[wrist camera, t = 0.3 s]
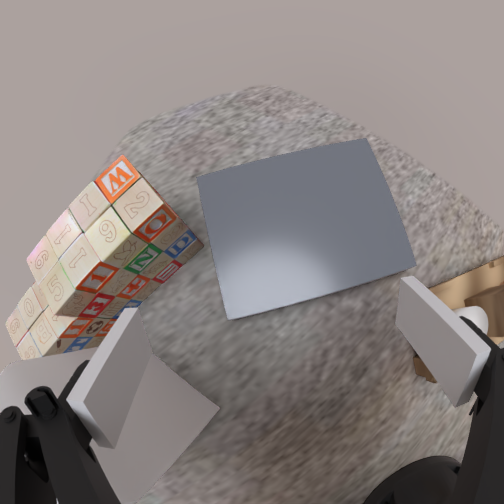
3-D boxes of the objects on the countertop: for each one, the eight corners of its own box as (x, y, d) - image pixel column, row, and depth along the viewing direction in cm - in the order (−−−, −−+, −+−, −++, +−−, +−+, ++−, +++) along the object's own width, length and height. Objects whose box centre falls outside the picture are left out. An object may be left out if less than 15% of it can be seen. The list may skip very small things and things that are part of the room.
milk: (136, 338, 30) (-101, 339, 4) (220, 407, 27) (70, 594, 2) (88, 408, 28) (-93, 460, 3) (161, 473, 26) (25, 607, 1)
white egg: (465, 337, 23) (491, 337, 19) (439, 350, 23) (463, 354, 19) (458, 304, 24) (483, 300, 20) (431, 316, 24) (455, 314, 20)
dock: (400, 272, 29) (416, 265, 25) (234, 320, 29) (227, 320, 25) (357, 156, 32) (366, 138, 28) (205, 193, 32) (196, 177, 29)
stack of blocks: (80, 366, 29) (6, 376, 17) (55, 325, 31) (-18, 320, 19) (205, 245, 31) (164, 201, 19) (171, 206, 33) (122, 151, 21)
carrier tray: (496, 257, 28) (565, 229, 15) (510, 324, 26) (582, 318, 13) (398, 297, 28) (467, 281, 16) (415, 376, 26) (486, 401, 14)
